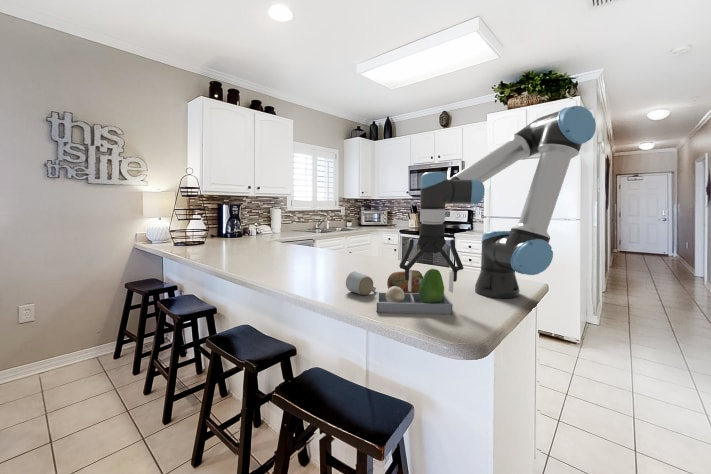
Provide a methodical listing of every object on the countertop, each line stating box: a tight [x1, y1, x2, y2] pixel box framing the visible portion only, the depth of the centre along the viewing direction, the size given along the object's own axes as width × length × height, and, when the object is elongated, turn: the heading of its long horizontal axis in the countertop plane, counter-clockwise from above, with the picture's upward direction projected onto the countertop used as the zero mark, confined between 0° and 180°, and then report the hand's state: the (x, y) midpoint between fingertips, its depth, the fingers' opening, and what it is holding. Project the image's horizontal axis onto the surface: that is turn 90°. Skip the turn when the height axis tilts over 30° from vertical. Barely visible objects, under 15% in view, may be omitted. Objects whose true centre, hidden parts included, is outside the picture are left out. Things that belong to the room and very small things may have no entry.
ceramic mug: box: [345, 270, 377, 296], centre depth 121 cm, size 11×8×8 cm
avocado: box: [418, 268, 445, 304], centre depth 104 cm, size 8×8×12 cm
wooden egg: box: [385, 286, 405, 303], centre depth 105 cm, size 6×6×6 cm
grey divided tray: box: [376, 291, 453, 315], centre depth 105 cm, size 23×12×3 cm, turn 86°
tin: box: [386, 269, 424, 293], centre depth 121 cm, size 15×3×8 cm, turn 117°
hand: (430, 291), depth 104 cm, fingers open, 12 cm apart
